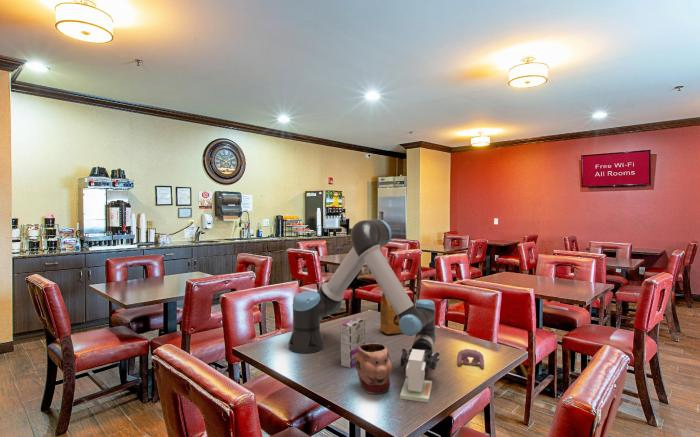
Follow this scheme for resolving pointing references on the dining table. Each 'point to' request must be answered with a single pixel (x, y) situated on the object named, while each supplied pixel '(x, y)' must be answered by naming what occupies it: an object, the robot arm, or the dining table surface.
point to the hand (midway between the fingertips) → (414, 373)
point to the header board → (416, 392)
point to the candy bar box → (351, 340)
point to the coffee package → (388, 317)
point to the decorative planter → (373, 367)
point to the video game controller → (470, 353)
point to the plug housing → (415, 370)
